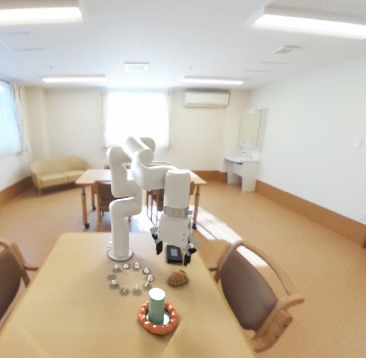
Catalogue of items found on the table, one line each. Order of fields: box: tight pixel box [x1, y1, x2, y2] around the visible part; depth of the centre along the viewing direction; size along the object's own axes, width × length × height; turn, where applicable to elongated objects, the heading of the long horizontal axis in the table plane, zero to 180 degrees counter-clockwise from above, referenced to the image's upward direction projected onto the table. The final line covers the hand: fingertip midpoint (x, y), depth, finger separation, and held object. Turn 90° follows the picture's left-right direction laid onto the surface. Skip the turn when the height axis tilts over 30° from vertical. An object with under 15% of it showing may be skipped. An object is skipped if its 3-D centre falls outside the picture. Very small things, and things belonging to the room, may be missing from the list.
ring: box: [138, 299, 179, 336], centre depth 75 cm, size 14×14×2 cm
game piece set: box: [110, 261, 154, 292], centre depth 97 cm, size 19×20×4 cm
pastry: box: [168, 268, 189, 287], centre depth 95 cm, size 9×7×4 cm
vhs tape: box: [166, 244, 183, 265], centre depth 115 cm, size 8×14×2 cm, turn 172°
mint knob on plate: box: [138, 287, 171, 326], centre depth 75 cm, size 9×9×11 cm
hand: (172, 258), depth 69 cm, fingers open, 9 cm apart
